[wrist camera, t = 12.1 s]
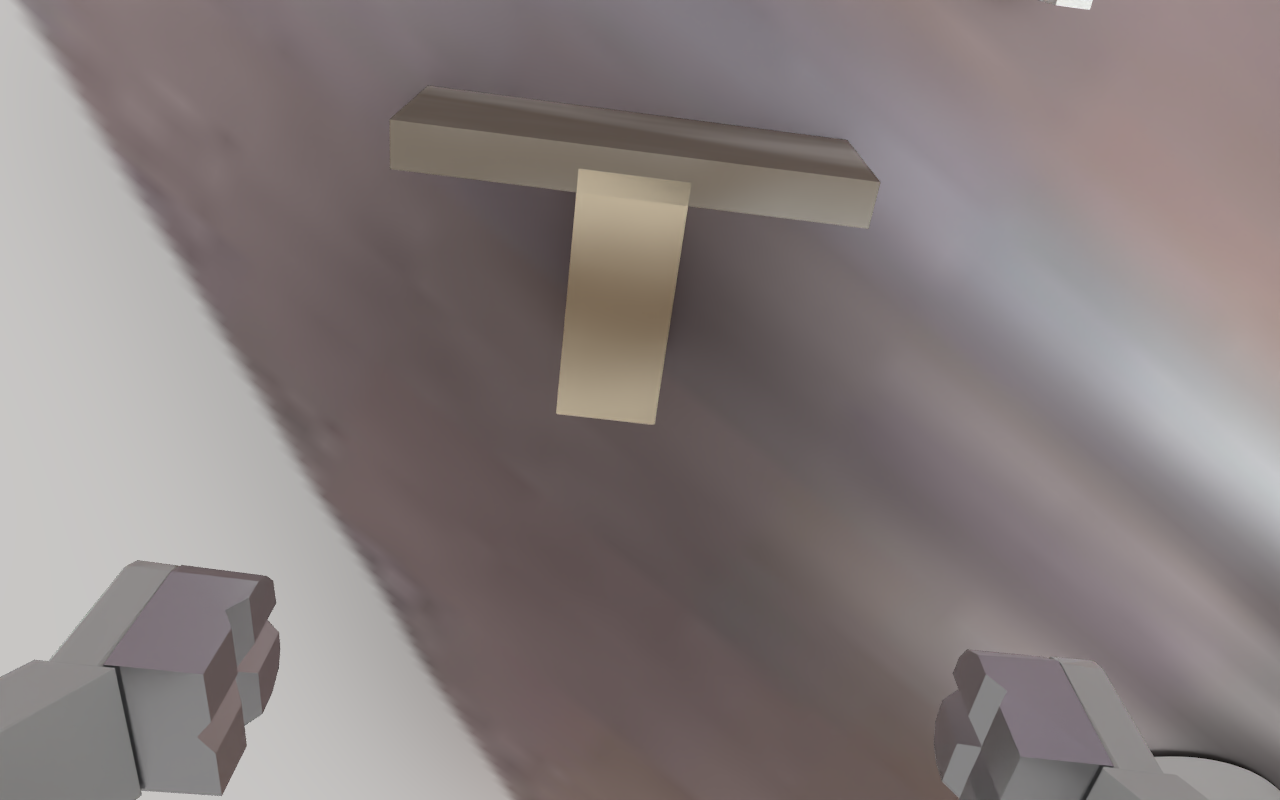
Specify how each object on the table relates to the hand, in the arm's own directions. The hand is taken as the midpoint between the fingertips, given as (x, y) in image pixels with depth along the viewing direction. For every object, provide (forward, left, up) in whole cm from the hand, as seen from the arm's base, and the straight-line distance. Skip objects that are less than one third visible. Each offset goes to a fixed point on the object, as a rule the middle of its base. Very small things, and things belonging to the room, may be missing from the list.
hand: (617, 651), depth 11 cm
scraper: (-2, 0, -19) cm, 19 cm away
